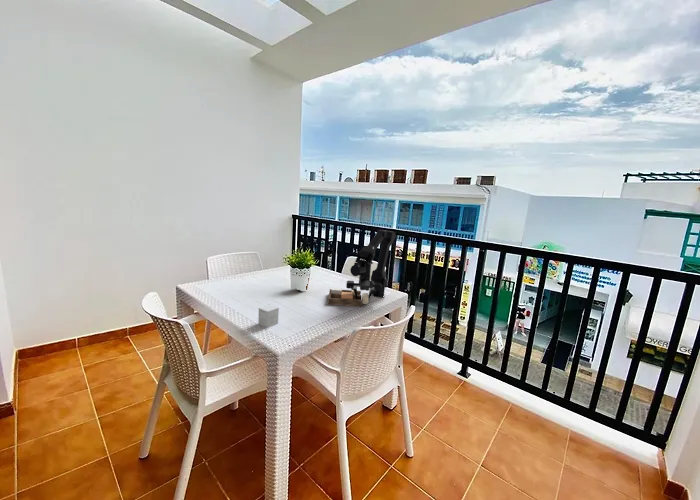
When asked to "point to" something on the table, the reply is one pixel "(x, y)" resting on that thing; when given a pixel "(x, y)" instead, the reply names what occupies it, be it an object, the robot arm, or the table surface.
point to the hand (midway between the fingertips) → (362, 300)
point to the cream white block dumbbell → (338, 290)
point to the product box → (268, 315)
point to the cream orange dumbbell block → (350, 296)
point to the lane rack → (336, 299)
